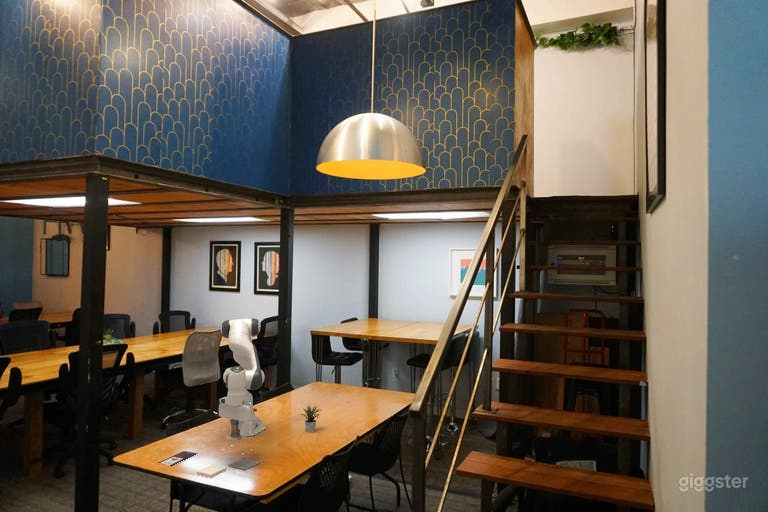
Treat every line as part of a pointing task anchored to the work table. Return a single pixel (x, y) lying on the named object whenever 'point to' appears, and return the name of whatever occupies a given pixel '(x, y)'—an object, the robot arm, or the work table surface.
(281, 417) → the work table surface
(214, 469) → the tile
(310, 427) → the house plant
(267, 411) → the work table surface
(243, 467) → the slate mat
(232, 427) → the wood block on plate
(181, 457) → the chocolate bar
